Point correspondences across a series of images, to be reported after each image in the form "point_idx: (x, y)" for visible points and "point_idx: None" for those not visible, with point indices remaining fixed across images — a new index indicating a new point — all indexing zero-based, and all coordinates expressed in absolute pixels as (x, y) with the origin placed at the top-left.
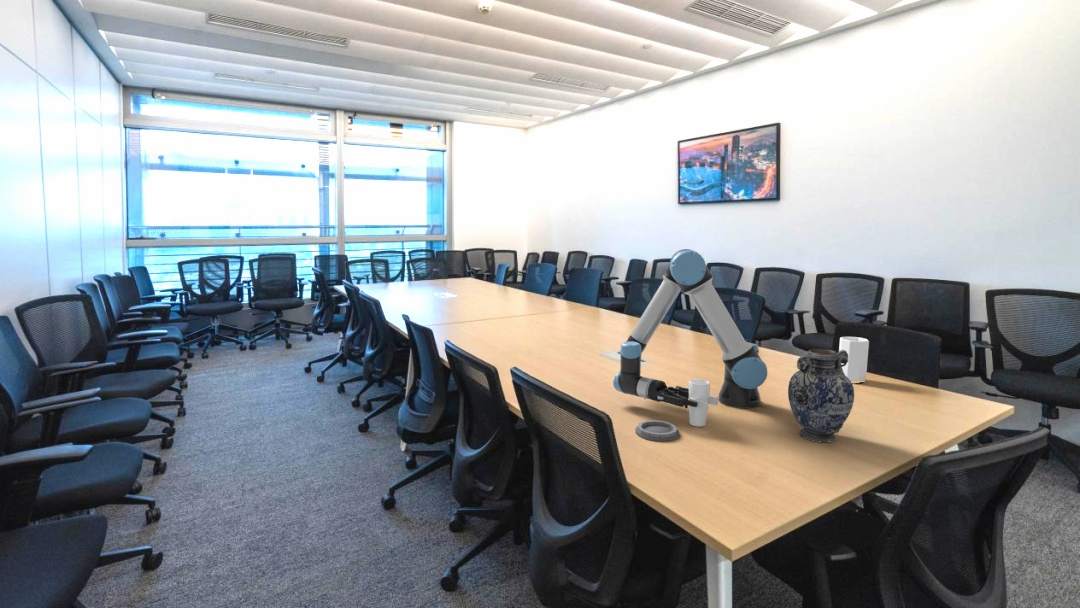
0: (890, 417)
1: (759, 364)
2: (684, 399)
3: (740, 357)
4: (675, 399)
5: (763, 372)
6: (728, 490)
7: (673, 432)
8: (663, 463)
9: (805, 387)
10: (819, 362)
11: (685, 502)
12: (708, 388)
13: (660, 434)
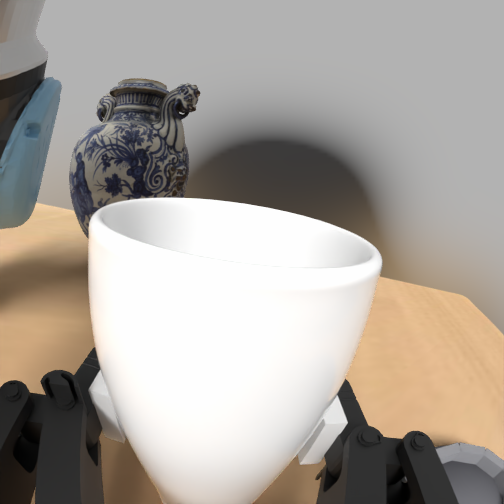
0: (26, 221)
1: (56, 111)
2: (381, 450)
3: (42, 71)
4: (444, 490)
5: (49, 143)
6: (431, 312)
7: (443, 447)
8: (492, 380)
9: (182, 152)
10: (161, 103)
11: (483, 325)
12: (234, 246)
13: (484, 449)
